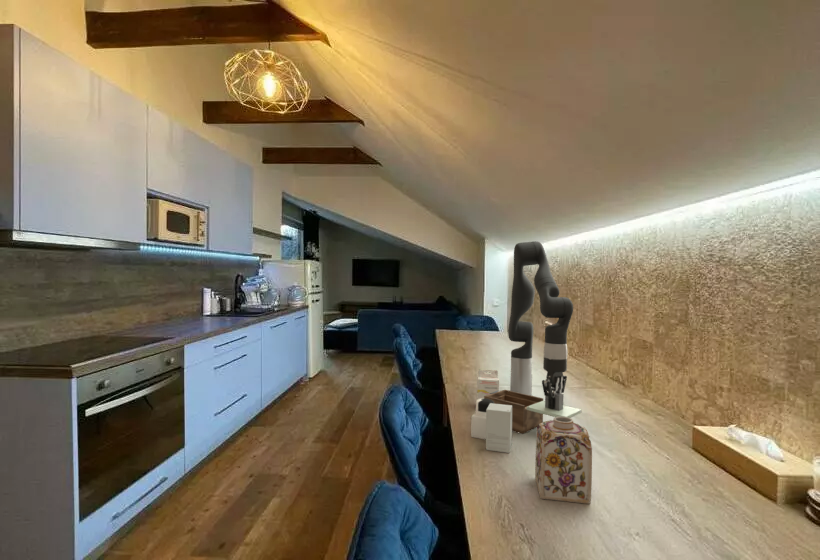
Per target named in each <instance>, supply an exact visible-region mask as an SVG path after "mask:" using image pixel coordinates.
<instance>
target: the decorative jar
mask: <svg viewBox="0 0 820 560" xmlns="http://www.w3.org/2000/svg"><path fill="white" fill-rule="evenodd" d="M589 434H590V433H589V431H588V429H587V428H586V427H584V426H582V425H580V424H578V423H575V422H574V419H573V418H568V417H553V420H552V419H551V420H547V421H546V420H545V421H543V422H542V423H540V424H539V426H538V427H537V428H536V437H535V438H536V439H535V444H536V445H535V462H534V464H535V468H534V469H535V473H534V475H535V482H536V485H537V491H538V495H539V497H540V499H542V500H550V501H560V502H568V503H577V504H586V505H587V504H588V505H590V504H591V501H592V483H593V481H592V478H593V477H592V476H593V475H592V474H593V446H592V442H591V441H592V440H590V435H589Z"/></svg>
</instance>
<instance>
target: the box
mask: <svg viewBox="0 0 820 560" xmlns="http://www.w3.org/2000/svg"><path fill="white" fill-rule="evenodd" d="M484 398H487V399H491V400H492V401H494V404H503V405H512V432H515V433H518V432H519V434H521V435H523V434H526V433H528V432H530V431H532V430H535V429H537V427H538V426H539V424H540V423H542V422H544V414H541V413H537V412H533V411H529V410H527V407H528V406H530V405H533V404H536V403H538V402H541V401H544V397H539V396H535V395H527V394H522V393H518V392H513V391H510V389H502V390H499V392H496V393H493V394H489V395H486V396H484Z"/></svg>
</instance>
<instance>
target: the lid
mask: <svg viewBox="0 0 820 560" xmlns="http://www.w3.org/2000/svg"><path fill="white" fill-rule="evenodd" d="M544 398H545V400H543V401H541V402H538V403H536V404H533V405H530V406H528V407H527V410H529V411H533V412H537V413H541V414H543V415H545V416H549V417H553V418H555V417H568V418H571V419H573V418H574V417H576V416H578V415H580V414H581V413H582V412H583V411H582V409H581V408H577V407H572V406H568V405H564V393H562V394H560V393H556V396H555V409H550V408H548V397H547V396H545V395H544Z"/></svg>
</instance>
